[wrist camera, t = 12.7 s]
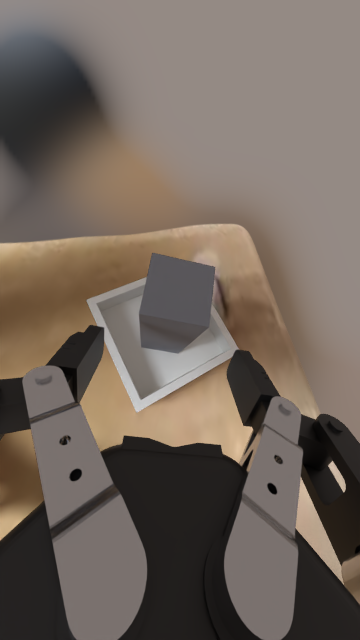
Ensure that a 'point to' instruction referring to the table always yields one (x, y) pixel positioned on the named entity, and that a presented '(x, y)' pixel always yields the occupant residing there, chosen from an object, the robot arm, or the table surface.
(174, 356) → the tray
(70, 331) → the table surface
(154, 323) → the handle block
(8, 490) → the table surface
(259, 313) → the table surface
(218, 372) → the table surface
